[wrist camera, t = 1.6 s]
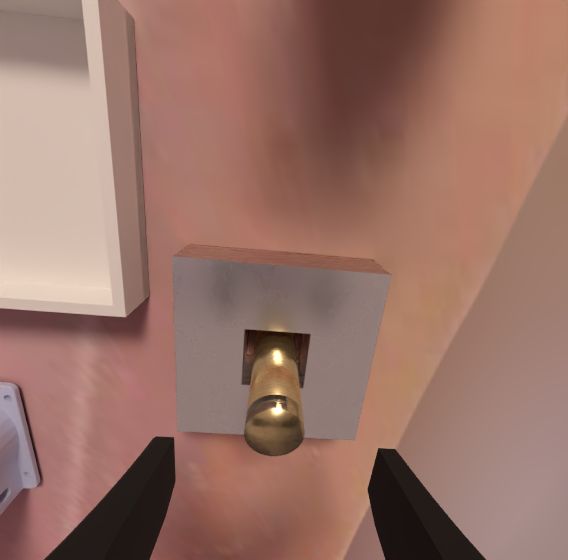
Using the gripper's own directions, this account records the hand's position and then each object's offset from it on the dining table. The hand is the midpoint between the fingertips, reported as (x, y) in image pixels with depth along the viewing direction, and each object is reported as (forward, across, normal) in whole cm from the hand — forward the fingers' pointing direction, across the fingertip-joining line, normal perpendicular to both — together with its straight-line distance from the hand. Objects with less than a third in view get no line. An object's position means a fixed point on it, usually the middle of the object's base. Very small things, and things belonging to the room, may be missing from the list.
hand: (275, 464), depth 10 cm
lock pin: (+9, 0, 0) cm, 9 cm away
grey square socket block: (+9, 0, 0) cm, 9 cm away
